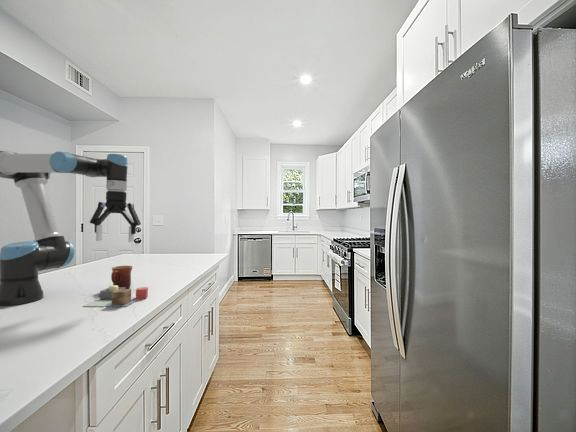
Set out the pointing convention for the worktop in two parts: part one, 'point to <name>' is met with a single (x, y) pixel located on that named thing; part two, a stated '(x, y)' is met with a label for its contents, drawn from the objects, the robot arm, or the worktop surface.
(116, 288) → the button
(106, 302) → the tile
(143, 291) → the die
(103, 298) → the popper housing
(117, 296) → the tan wooden cuboid
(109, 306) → the tile
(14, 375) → the worktop surface
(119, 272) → the mug
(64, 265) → the robot arm
